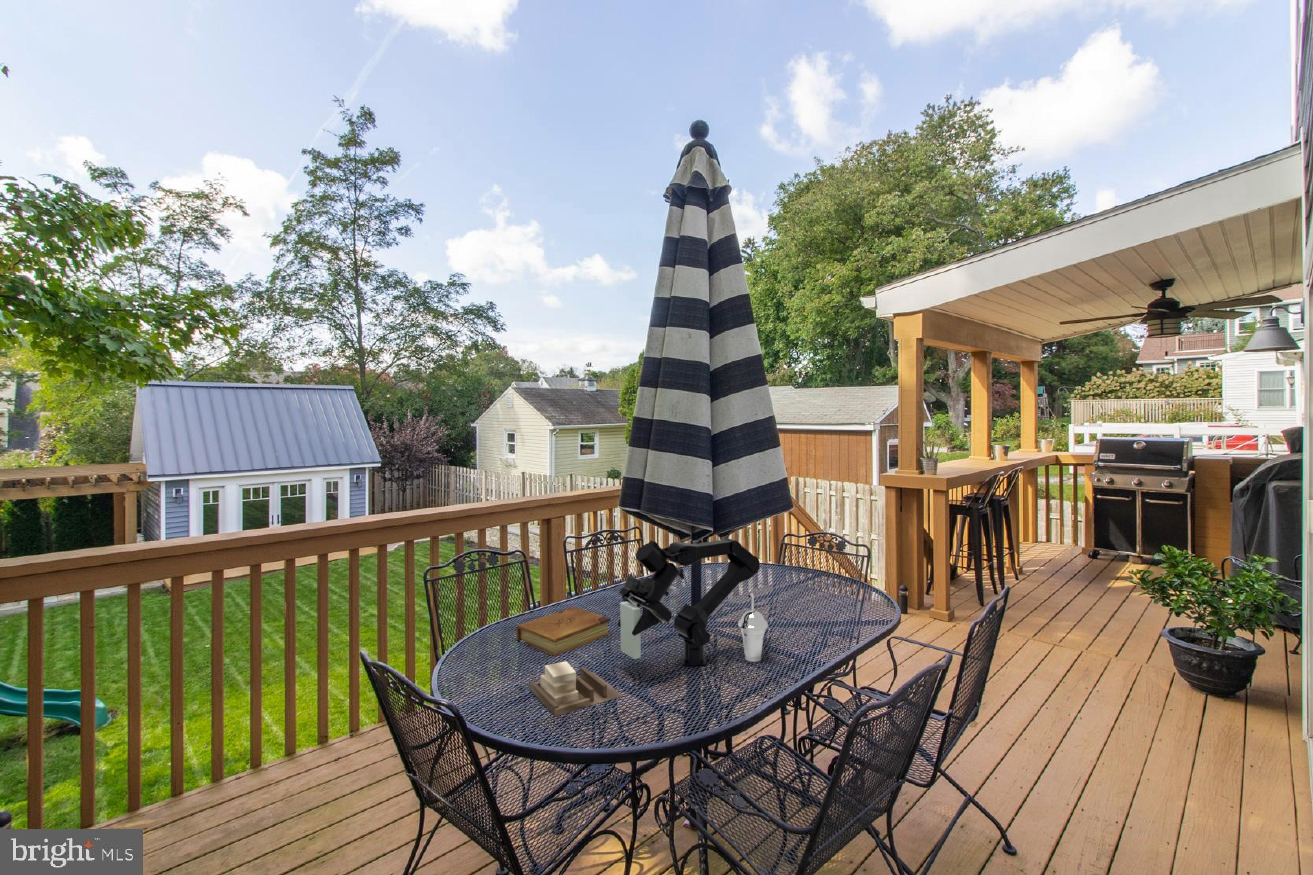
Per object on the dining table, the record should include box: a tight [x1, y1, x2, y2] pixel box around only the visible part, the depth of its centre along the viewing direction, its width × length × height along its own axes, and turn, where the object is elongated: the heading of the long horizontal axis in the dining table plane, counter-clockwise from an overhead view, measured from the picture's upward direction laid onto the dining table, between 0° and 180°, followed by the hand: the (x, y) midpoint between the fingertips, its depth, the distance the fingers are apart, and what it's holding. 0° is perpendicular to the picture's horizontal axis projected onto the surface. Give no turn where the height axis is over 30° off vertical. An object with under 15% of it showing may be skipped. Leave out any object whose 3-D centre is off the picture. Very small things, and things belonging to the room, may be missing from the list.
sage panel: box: [619, 601, 642, 660], centre depth 154 cm, size 2×7×13 cm, turn 34°
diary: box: [515, 606, 612, 657], centre depth 185 cm, size 23×19×6 cm
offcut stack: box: [539, 661, 578, 706], centre depth 143 cm, size 7×9×7 cm
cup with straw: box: [737, 592, 769, 663], centre depth 167 cm, size 8×9×20 cm
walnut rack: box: [529, 666, 624, 717], centre depth 146 cm, size 18×16×4 cm
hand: (625, 630), depth 154 cm, fingers closed on sage panel, 7 cm apart
